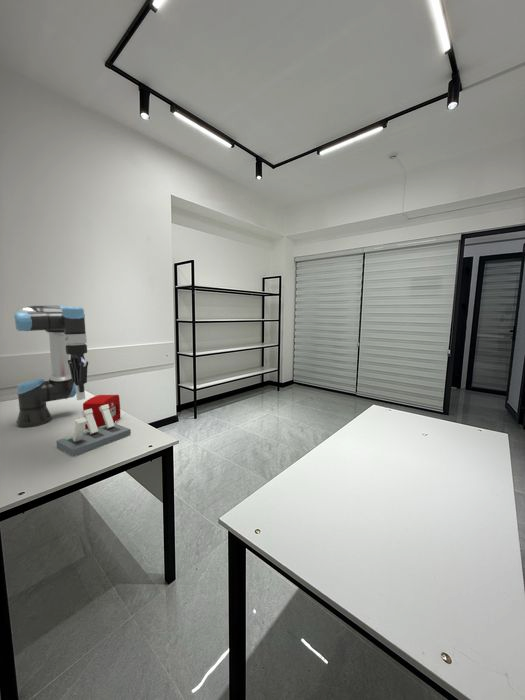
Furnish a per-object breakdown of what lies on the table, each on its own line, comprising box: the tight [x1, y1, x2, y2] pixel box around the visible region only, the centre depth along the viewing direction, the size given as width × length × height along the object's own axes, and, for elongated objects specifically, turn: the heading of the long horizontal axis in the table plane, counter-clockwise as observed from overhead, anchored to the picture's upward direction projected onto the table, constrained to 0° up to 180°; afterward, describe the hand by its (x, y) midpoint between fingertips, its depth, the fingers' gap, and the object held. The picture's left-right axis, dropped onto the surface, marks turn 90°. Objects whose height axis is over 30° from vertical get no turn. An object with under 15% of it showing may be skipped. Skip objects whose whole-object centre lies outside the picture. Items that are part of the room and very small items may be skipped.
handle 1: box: [81, 408, 98, 434], centre depth 138 cm, size 2×4×12 cm
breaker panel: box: [55, 422, 132, 457], centre depth 137 cm, size 16×26×3 cm, turn 147°
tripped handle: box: [73, 416, 87, 442], centre depth 128 cm, size 2×4×12 cm, turn 147°
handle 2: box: [99, 404, 115, 429], centre depth 144 cm, size 2×4×12 cm
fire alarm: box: [82, 394, 121, 430], centre depth 157 cm, size 16×11×15 cm
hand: (81, 399), depth 123 cm, fingers closed
